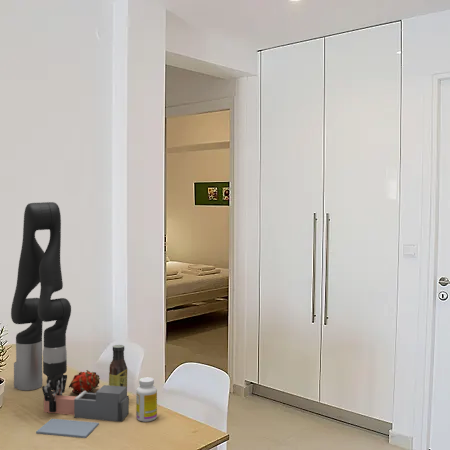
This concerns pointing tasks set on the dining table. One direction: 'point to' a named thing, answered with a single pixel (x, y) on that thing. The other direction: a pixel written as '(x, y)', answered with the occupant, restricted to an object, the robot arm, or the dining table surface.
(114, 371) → the sauce bottle
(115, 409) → the dispenser
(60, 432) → the rubber mat
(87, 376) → the dragon fruit
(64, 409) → the pink rectangular block
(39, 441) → the dining table surface
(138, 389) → the supplement bottle
